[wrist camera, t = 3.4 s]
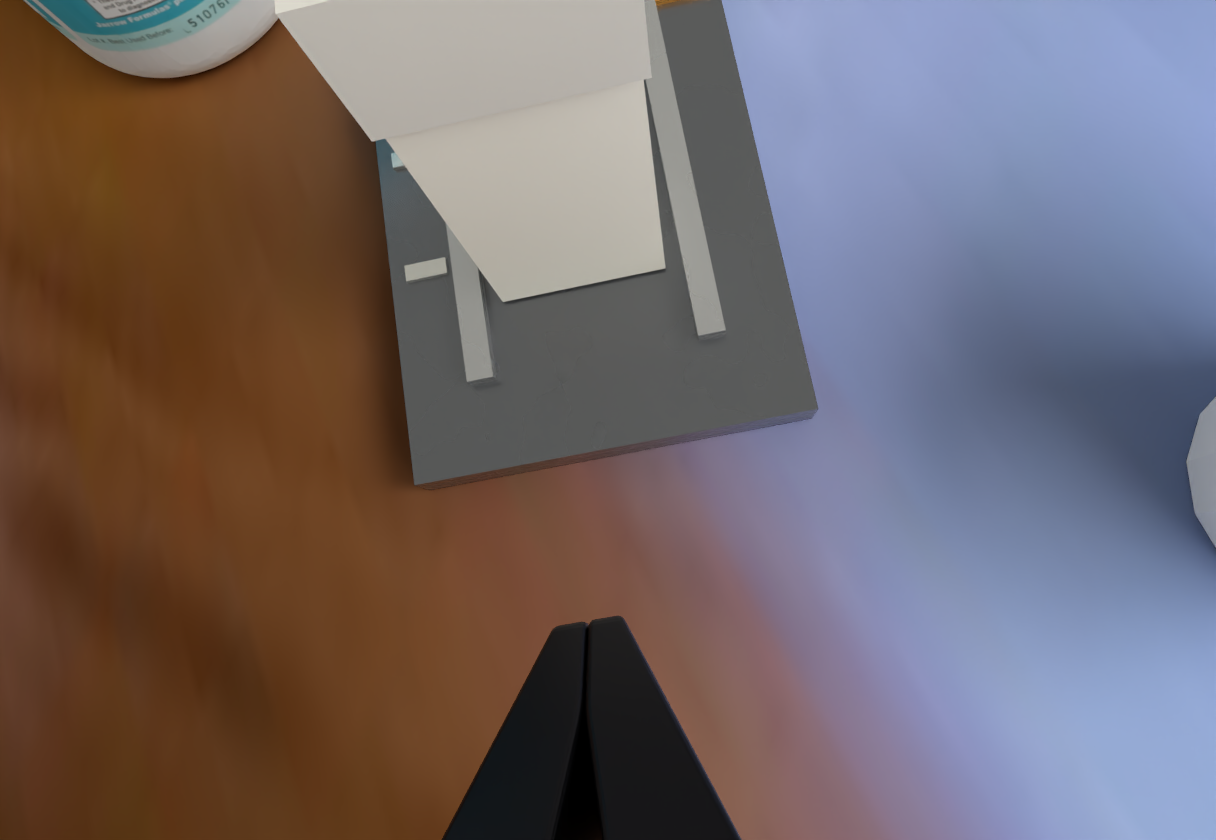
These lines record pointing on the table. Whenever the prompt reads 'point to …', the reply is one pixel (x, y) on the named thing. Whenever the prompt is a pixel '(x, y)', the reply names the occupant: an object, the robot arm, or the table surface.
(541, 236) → the fader tab
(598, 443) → the console
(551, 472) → the table surface
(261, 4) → the pill bottle
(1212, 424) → the white cylinder
